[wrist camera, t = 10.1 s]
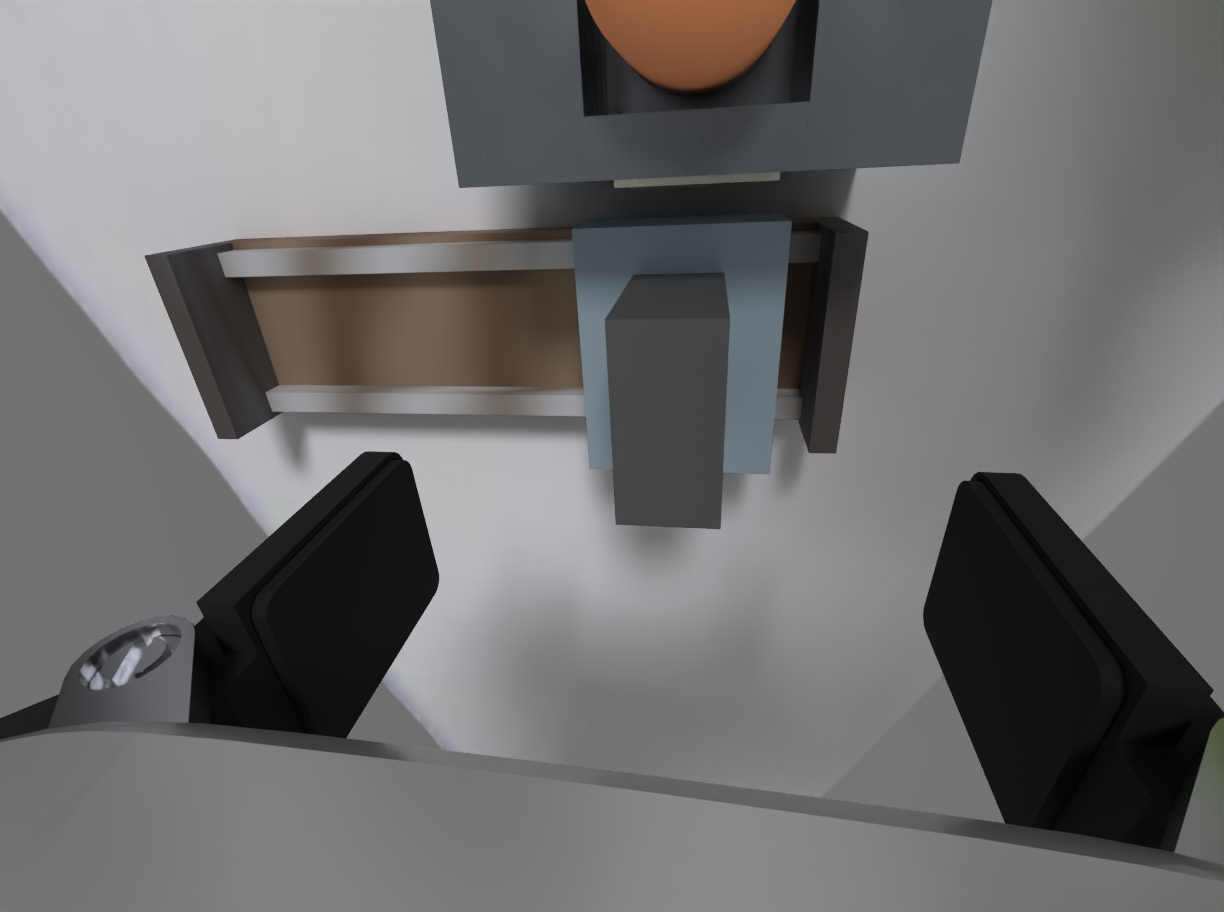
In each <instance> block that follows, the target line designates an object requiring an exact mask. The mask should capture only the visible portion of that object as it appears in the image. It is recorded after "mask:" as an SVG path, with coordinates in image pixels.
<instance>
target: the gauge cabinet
mask: <svg viewBox="0 0 1224 912" xmlns="http://www.w3.org/2000/svg"><path fill="white" fill-rule="evenodd" d="M430 3H431V9H432V15H433V22H434V28H435V35H436V41H437V48H438V54H439V60H440V67H441V73H442V80H443V86H444V93H445V99H446V106H447V112H448V118H449V125H450V131H451V138H452V144H453V151H454V157H455V163H456V170H457V176H458V183H459V188H466V187H487V186H507V185H527V184H547V183H567V182H588V181H608V180H614V188H625V187H630V191H641V190H662V189H684V188H705V187H709V184H710V183H731V182H752V181H773V180H780V172H790V171H810V170H830V169H850V168H871V167H891V166H911V165H931V164H952V163H959V161H960V156H961V151H962V146H963V141H964V136H965V131H966V127H967V122H968V117H969V112H970V107H971V102H972V97H973V92H974V87H975V83H976V78H977V73H978V68H979V63H980V58H981V53H982V48H983V43H984V38H985V34H986V29H987V24H988V19H989V14H990V9H991V4H992V0H796V2H795V3H794V5H793V7H792V9H791V10H790V12H789V14H788V16H787V18H786V19H785V21H784V23H783V25H782V27H781V28H780V30H779V32H778V34H777V35H776V37H775V39H774V41H773V42H772V44H771V46H770V47H769V49H768V51H767V52H766V54H765V55H764V56H763V58H762V59H761V60H760V62H759V63H758V64H757V65H756V66H755V67H754V68H753V69H752V70H751V71H750V72H749V73H748V74H747V75H746V76H744V77H743V78H742V79H741V80H740V81H738V82H737V83H735V84H733V85H732V86H730V87H729V88H726V89H724V90H722V91H720V92H718V93H714V94H711V95H708V96H702V97H680V96H674V95H671V94H668V93H665V92H662V91H660V90H658V89H656V88H654V87H653V86H651V85H650V84H649V83H647V82H646V81H644V80H643V79H642V78H641V77H640V76H639V75H638V74H637V73H636V72H635V71H634V70H633V69H632V68H631V66H630V65H629V64H628V63H627V62H626V61H625V60H624V59H623V57H622V56H621V55H620V54H619V53H618V52H617V51H616V50H615V49H614V47H613V46H612V45H611V44H610V43H609V41H608V40H607V39H606V38H605V36H604V35H603V34H602V32H601V31H600V29H599V27H598V26H597V24H596V23H595V21H594V19H593V17H592V15H591V13H590V11H589V8H588V6H587V4H586V1H585V0H430Z"/></svg>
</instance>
